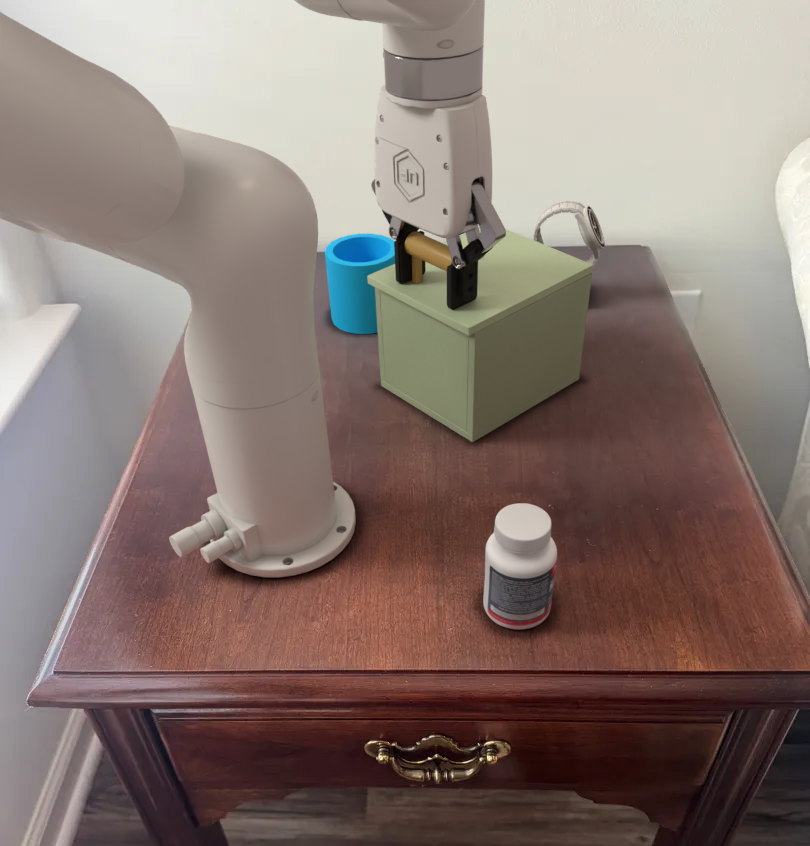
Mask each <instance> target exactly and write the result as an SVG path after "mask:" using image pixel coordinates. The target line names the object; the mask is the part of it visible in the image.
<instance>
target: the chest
mask: <svg viewBox="0 0 810 846" xmlns="http://www.w3.org/2000/svg"><path fill="white" fill-rule="evenodd" d="M592 278H593V272H592V273H590V274H588V275H586V276H584V277H583V278H581V279H579V280H577V281H575V282H573V283H571V284H569V285H567V286H565V287H563V288H561V289H559V290H557V291H555V292H553V293H551V294H549V295H547V296H546V297H544V298H542V299H540V300H538V301H536V302H534V303H532V304H530V305H528V306H526V307H524V308H522V309H520V310H518V311H516V312H514V313H512V314H511V315H509V316H507V317H505V318H503V319H501V320H499V321H497V322H495V323H493V324H491V325H489V326H487V327H485V328H483V329H481V330H479V331H477V332H476V333H474V334H472V335H470V336H468V335H466V334H464V333H462V332H460V331H458V330H456V329H454V328H452V327H450V326H448V325H447V324H445V323H443V322H441V321H439V320H437V319H435V318H433V317H431V316H429V315H427V314H425V313H424V312H422V311H420V310H418V309H416V308H414V307H412V306H410V305H408V304H406V303H404V302H402V301H401V300H399V299H397V298H395V297H393V296H391V295H389V294H387V293H385V292H383V291H381V290H380V289H378V288H376V287H375V297H376V313H377V329H378V333H377V342H378V357H379V359H378V360H379V374H380V386H381V387H382V388H384V389H386V390H387V391H389V392H390V393H392V394H394V395H395V396H397V397H399V398H400V399H401V400H403V401H405V402H407V403H408V404H410V405H411V406H413V407H415V408H416V409H418V410H419V411H421V412H422V413H424V414H426V415H427V416H429V417H431V418H432V419H434V420H436V421H437V422H439V423H440V424H442V425H444V426H445V427H447V428H449V430H452V431H453V432H455V433H457V434H458V435H459V436H461V437H463V438H464V439H466V440H467V441H469V442H471V443H474V442H476V441H477V440H479V439H481V438H483V437H484V436H486V435H488V434H489V433H491V432H493V431H495V430H496V429H498V428H499V427H501V426H503V425H505V424H507V423H508V422H510V421H511V420H513V419H515V418H516V417H518V416H520V415H521V414H523V413H525V412H526V411H529V410H530V409H531V408H534V406H537V405H538V404H540V403H541V402H543V401H545V400H547V399H548V398H550V397H552V396H554V395H555V394H556V393H558V392H560V391H562V390H563V389H565V388H567V387H569V386H571V385H572V384H573V383H576V382H577V381H579V379H580V375H581V374H580V373H581V367H582V360H583V359H582V358H583V350H584V343H585V336H586V335H585V334H586V327H587V319H588V311H589V302H590V295H591V285H592V280H593V279H592Z"/></svg>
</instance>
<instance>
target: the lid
mask: <svg viewBox="0 0 810 846" xmlns="http://www.w3.org/2000/svg"><path fill="white" fill-rule="evenodd" d="M478 227H479V226H478ZM505 230H506V236H505V237H504V238H503V239H502V240H501V241H499V242H498V243H497V244H496V245H495V246H493V248H492V249H491V250H490V251H489V252H487V253H486V254H485V256H484V258H482V259H480V260H478V286H477V298H476V299H475V300H474V301H472V302H470V303H467V304H465V305H463V306H461V307H459V308H457V309H455V310H452V309H450V308H448V307H447V266H449V265H451V264H453V263H452V260H451V256H450V252H449V248H448V244H447V241H444V242H441V241H438V240H436V239H434V238H432V237H430V236H427V235H425V234H424V235H423V234H421V233H418V232H412V233H410V234H409V235H408V236H407V238H406V240H405V250H406V252H407V253H408V254H410V255H412V280H410V281H408V282H406V283H403V284H400V283H398V282H397V281H396V273H395V264H393V265H391V266H389V267H387V268H384V269H382V270H380V271H377V272H375V273H373V274H370V275H368V276H367V279H368V284H370V285H372V286H374V287H376V288H378V289H380V290H381V291H383V292H385V293H387V294H389V295H391V296H393V297H395V298H397V299H399V300H401V301H402V302H404V303H406V304H408V305H410V306H412V307H414V308H416V309H418V310H420V311H422V312H424V313H425V314H427V315H429V316H431V317H433V318H435V319H437V320H439V321H441V322H443V323H445V324H447V325H448V326H450V327H452V328H454V329H456V330H458V331H460V332H462V333H464V334H466V335H468V336H470V335H472V334H474V333H476V332H477V331H479V330H481V329H483V328H485V327H487V326H489V325H491V324H493V323H495V322H497V321H499V320H501V319H503V318H505V317H507V316H509V315H511V314H512V313H514V312H516V311H518V310H520V309H522V308H524V307H526V306H528V305H530V304H532V303H534V302H536V301H538V300H540V299H542V298H544V297H546V296H547V295H549V294H551V293H553V292H555V291H557V290H559V289H561V288H563V287H565V286H567V285H569V284H571V283H573V282H575V281H577V280H579V279H581V278H583V277H584V276H586V275H588V274H590V273H592V274H593V271H594V266H593V264H590V263H588V262H586V260H583V259H581V258H579V257H575V256H573V255H571V254H569V253H565V252H563V251H560V250H559V249H556V248H553V247H551V246H548V245H546V244H545V243H544V244H541V243H539V242H536V241H534V240H533V239H531V238H529V237H526V236H524V235H521V234H519V233H516V232H514V231H511V230H509V229H508V228H505ZM479 231H480V232H481V230H480V227H479ZM460 239H461V243H462V247H463V249H464V248H465V247H466V246H467V245H468V241H467V237H466V233H464V234H461V235H460ZM422 260H423V261H425V268H426V271H425V274H423V275H422Z"/></svg>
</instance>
